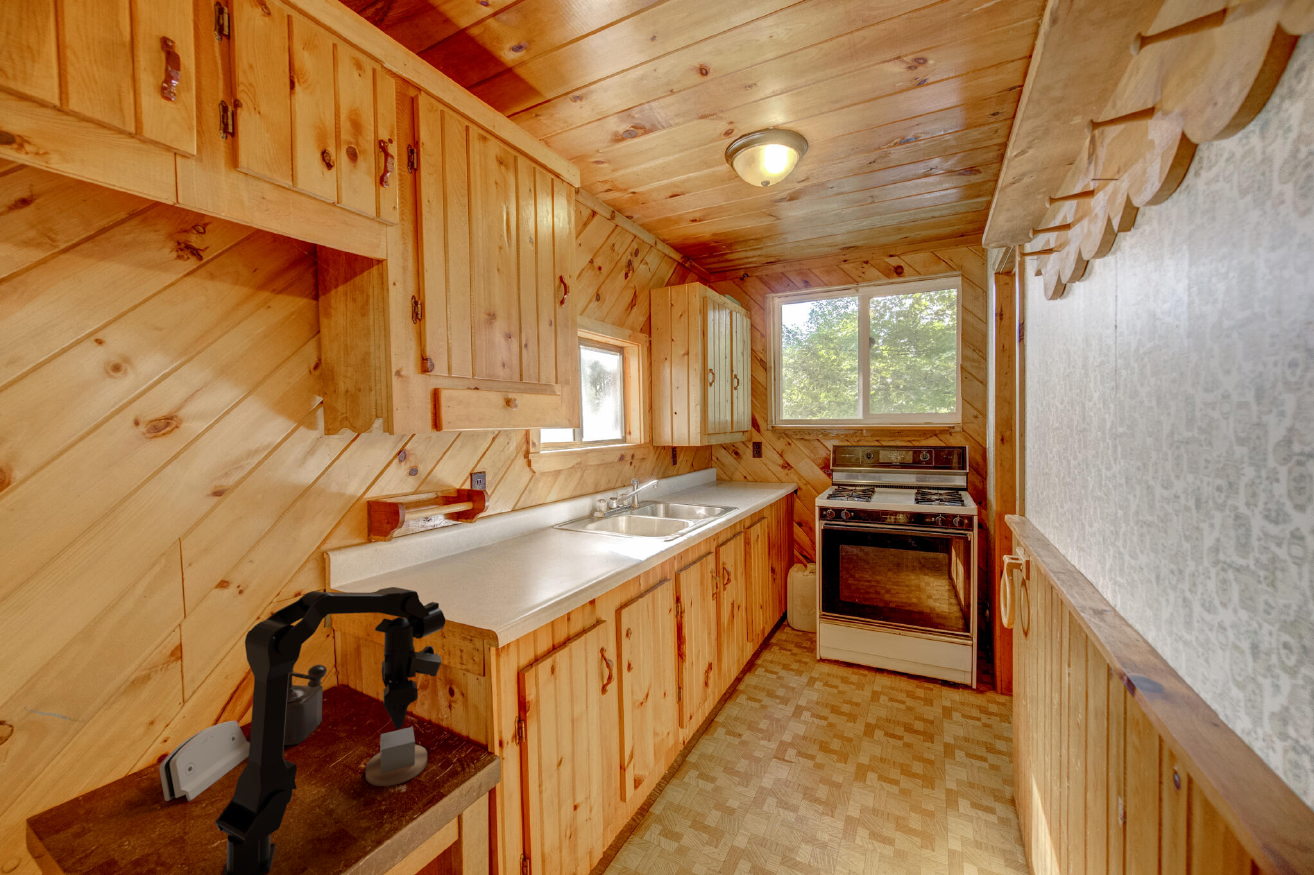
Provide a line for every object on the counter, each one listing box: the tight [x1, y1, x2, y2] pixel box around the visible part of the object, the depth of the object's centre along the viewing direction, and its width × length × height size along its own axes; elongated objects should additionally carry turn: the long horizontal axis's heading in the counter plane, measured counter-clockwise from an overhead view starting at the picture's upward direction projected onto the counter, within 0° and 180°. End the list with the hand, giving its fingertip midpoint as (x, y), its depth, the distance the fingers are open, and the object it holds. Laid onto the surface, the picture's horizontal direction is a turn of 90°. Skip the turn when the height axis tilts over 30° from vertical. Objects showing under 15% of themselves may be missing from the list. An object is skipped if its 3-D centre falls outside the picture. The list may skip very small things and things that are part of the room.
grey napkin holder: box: [158, 720, 250, 802], centre depth 109 cm, size 17×5×10 cm, turn 179°
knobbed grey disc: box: [365, 744, 428, 787], centre depth 112 cm, size 12×12×5 cm
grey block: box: [379, 726, 416, 774], centre depth 112 cm, size 6×6×5 cm
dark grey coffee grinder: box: [284, 664, 328, 746], centre depth 124 cm, size 16×11×18 cm
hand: (398, 717), depth 112 cm, fingers open, 9 cm apart
